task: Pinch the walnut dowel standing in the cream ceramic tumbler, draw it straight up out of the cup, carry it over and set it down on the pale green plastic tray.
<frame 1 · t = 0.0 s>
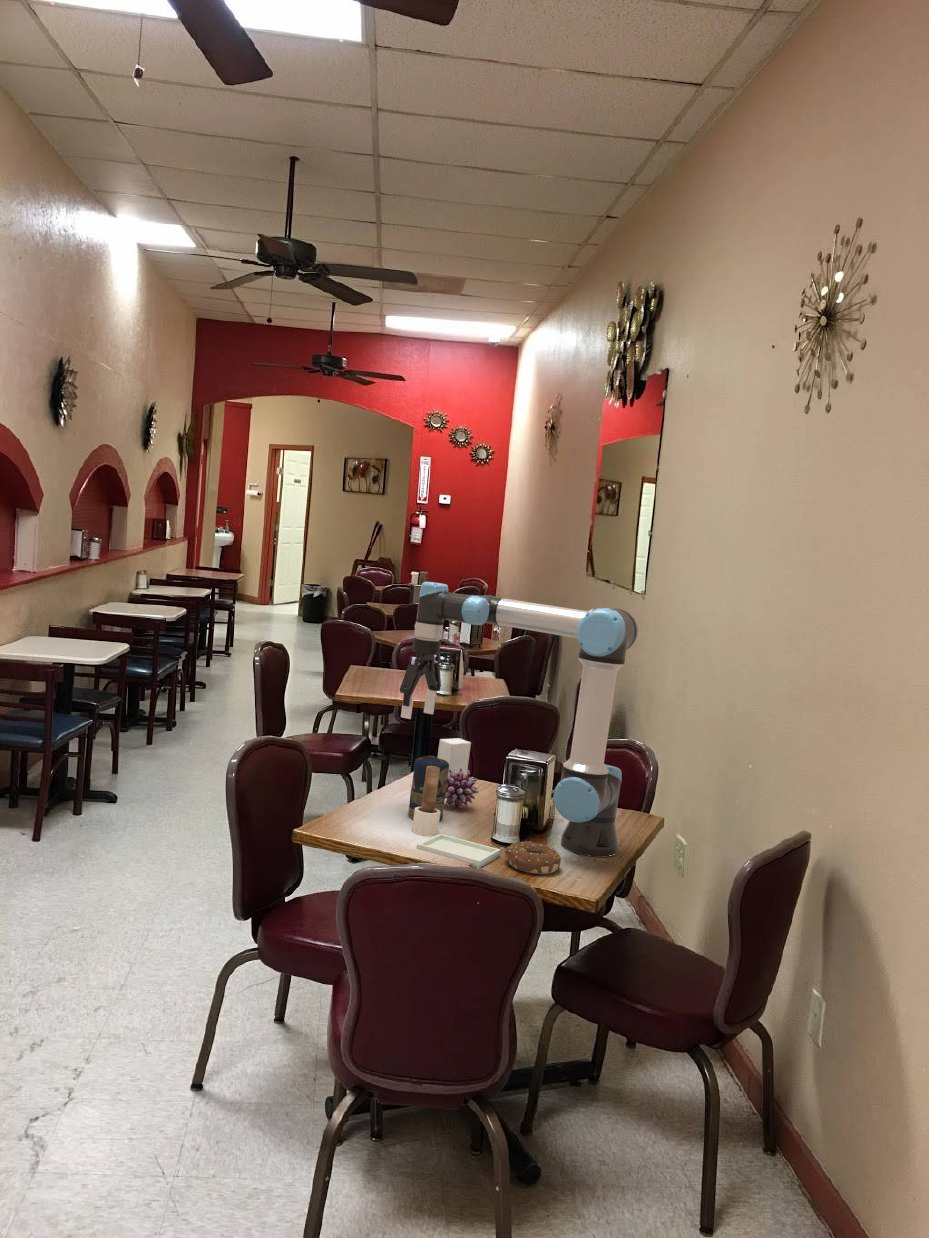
hand: (417, 715, 277), 28 cm above the table, fingers open, 13 cm apart
skincare box: (449, 789, 317), on the table
donut: (530, 868, 248), on the table
canister: (424, 821, 277), on the table
tumbler: (424, 834, 263), on the table
flower: (455, 808, 295), on the table
tray: (458, 853, 250), on the table
dowel: (424, 831, 263), point 1 cm above the table, touching tumbler
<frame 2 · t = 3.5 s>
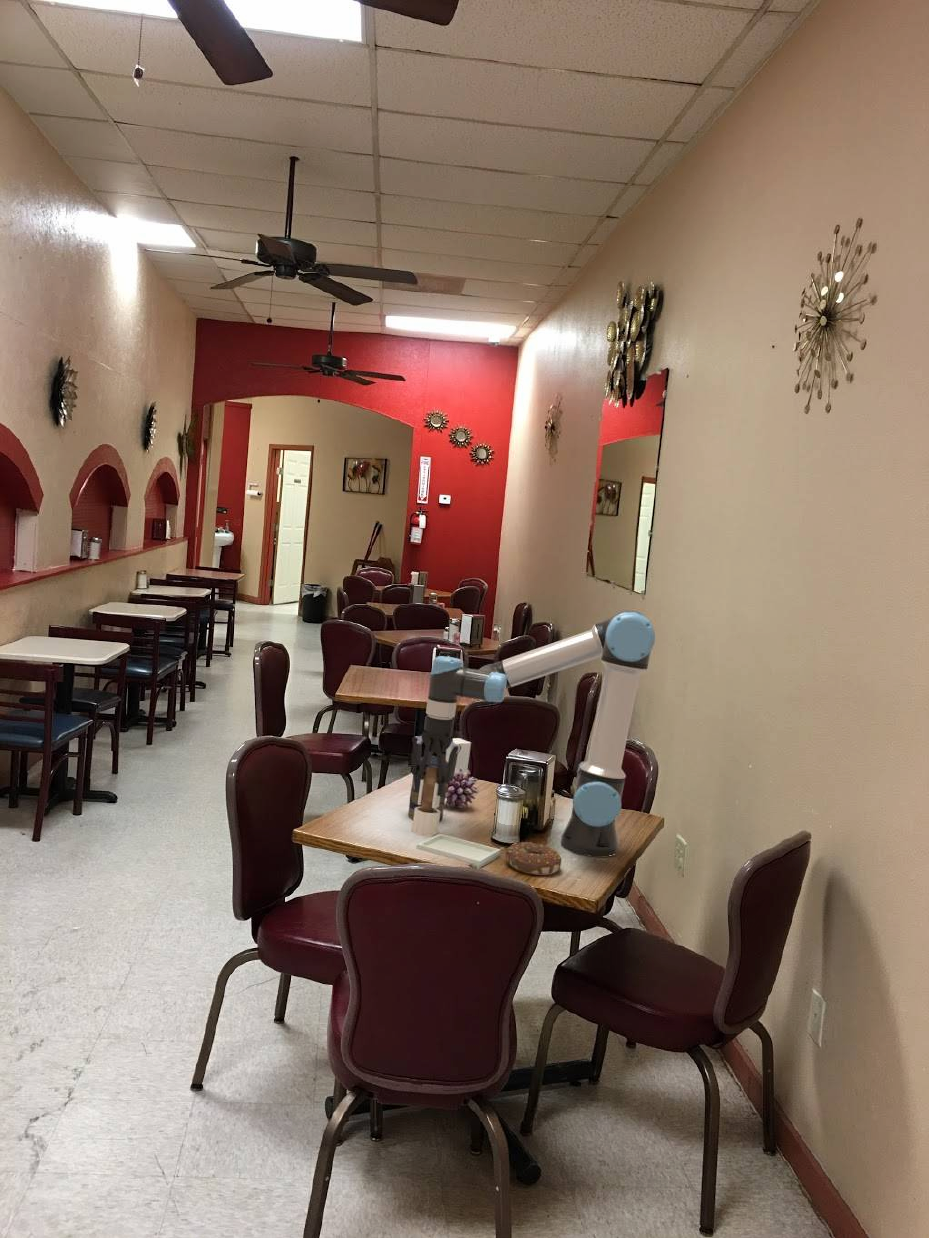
hand: (428, 805, 263), 8 cm above the table, fingers closed on dowel, 3 cm apart
dowel: (424, 831, 263), point 1 cm above the table, touching gripper, tumbler
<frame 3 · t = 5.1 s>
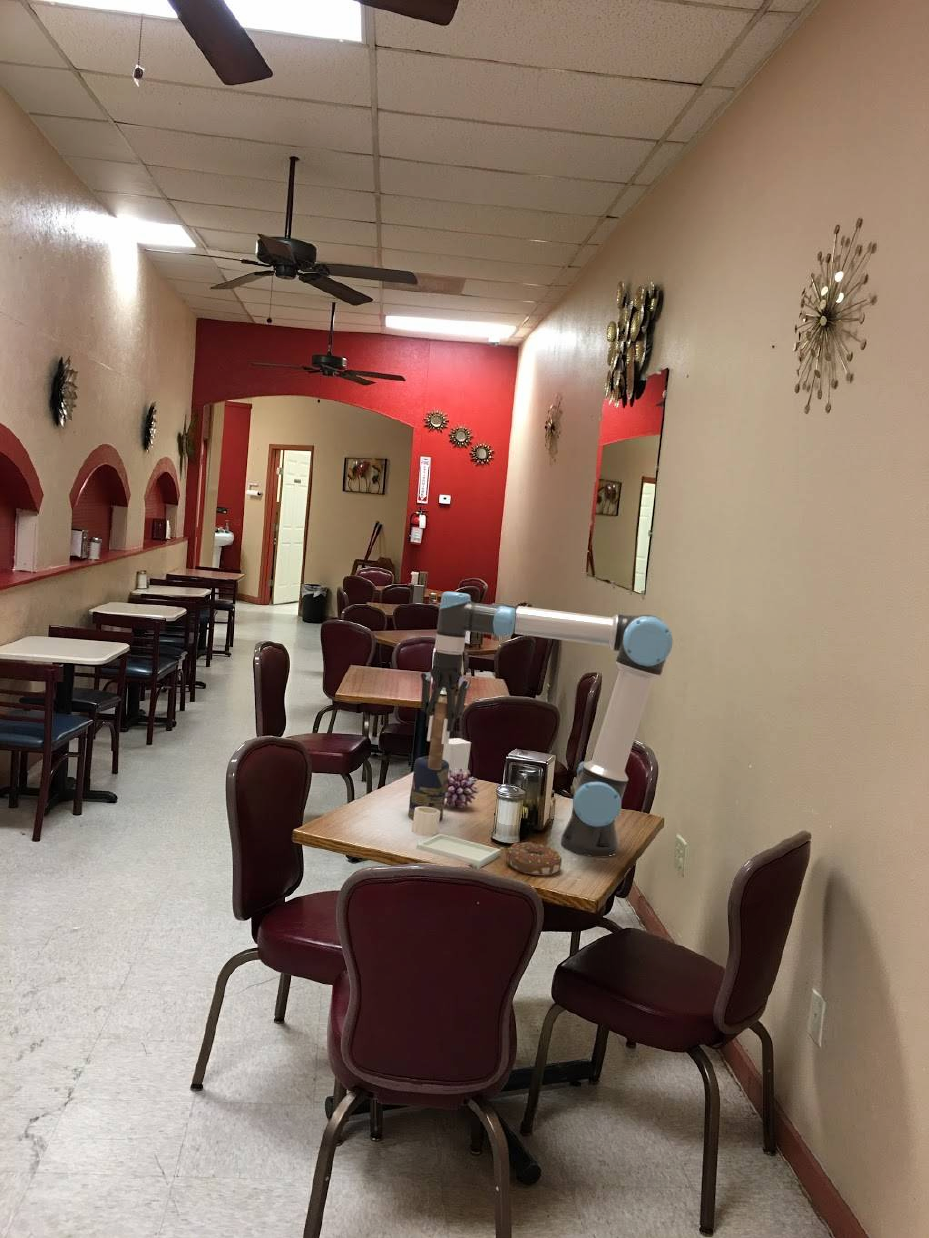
hand: (437, 741, 262), 25 cm above the table, fingers closed on dowel, 3 cm apart
dowel: (434, 768, 262), point 18 cm above the table, touching gripper
everything else where it was.
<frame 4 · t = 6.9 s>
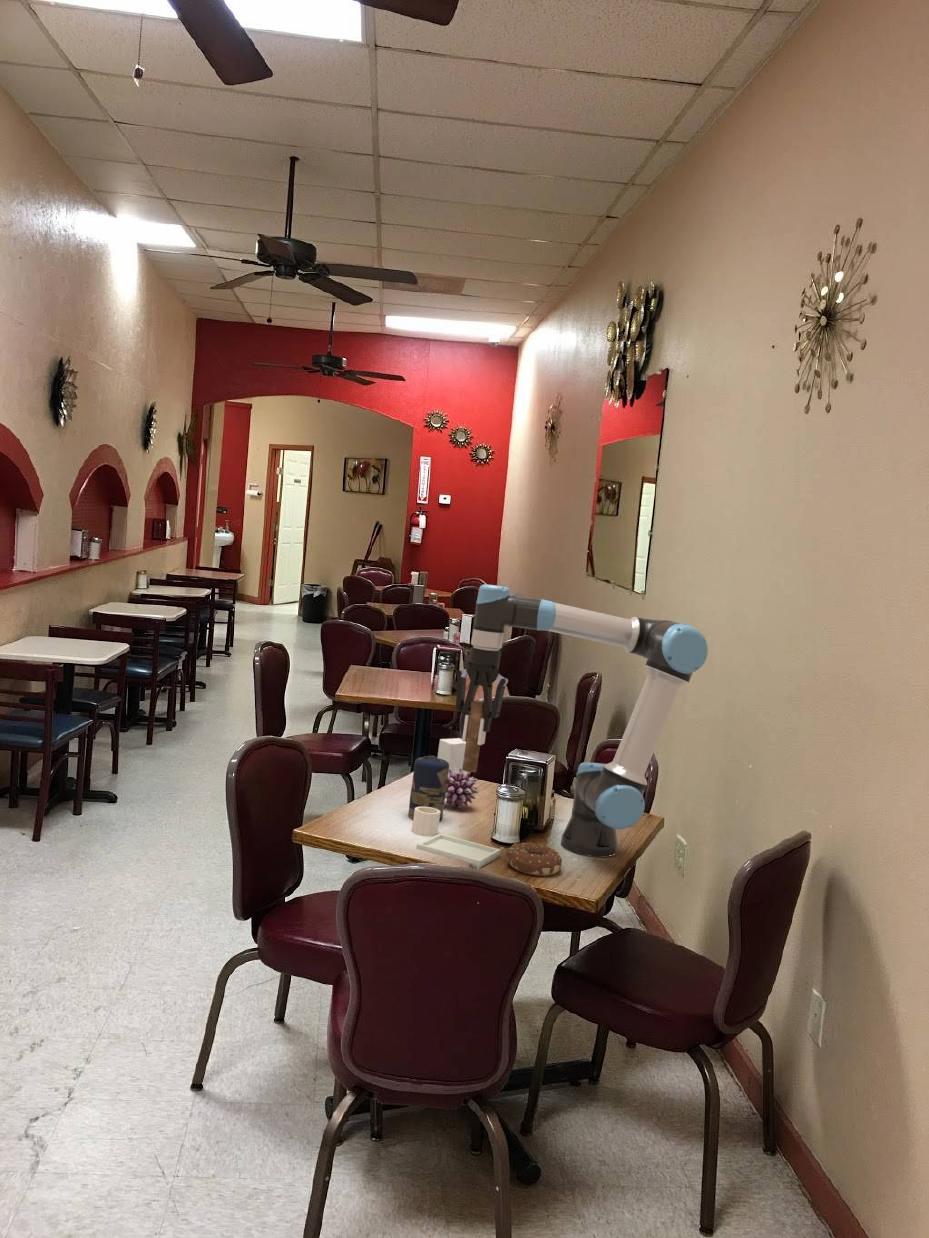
hand: (473, 742, 249), 28 cm above the table, fingers closed on dowel, 3 cm apart
dowel: (469, 770, 249), point 21 cm above the table, touching gripper
everything else where it was.
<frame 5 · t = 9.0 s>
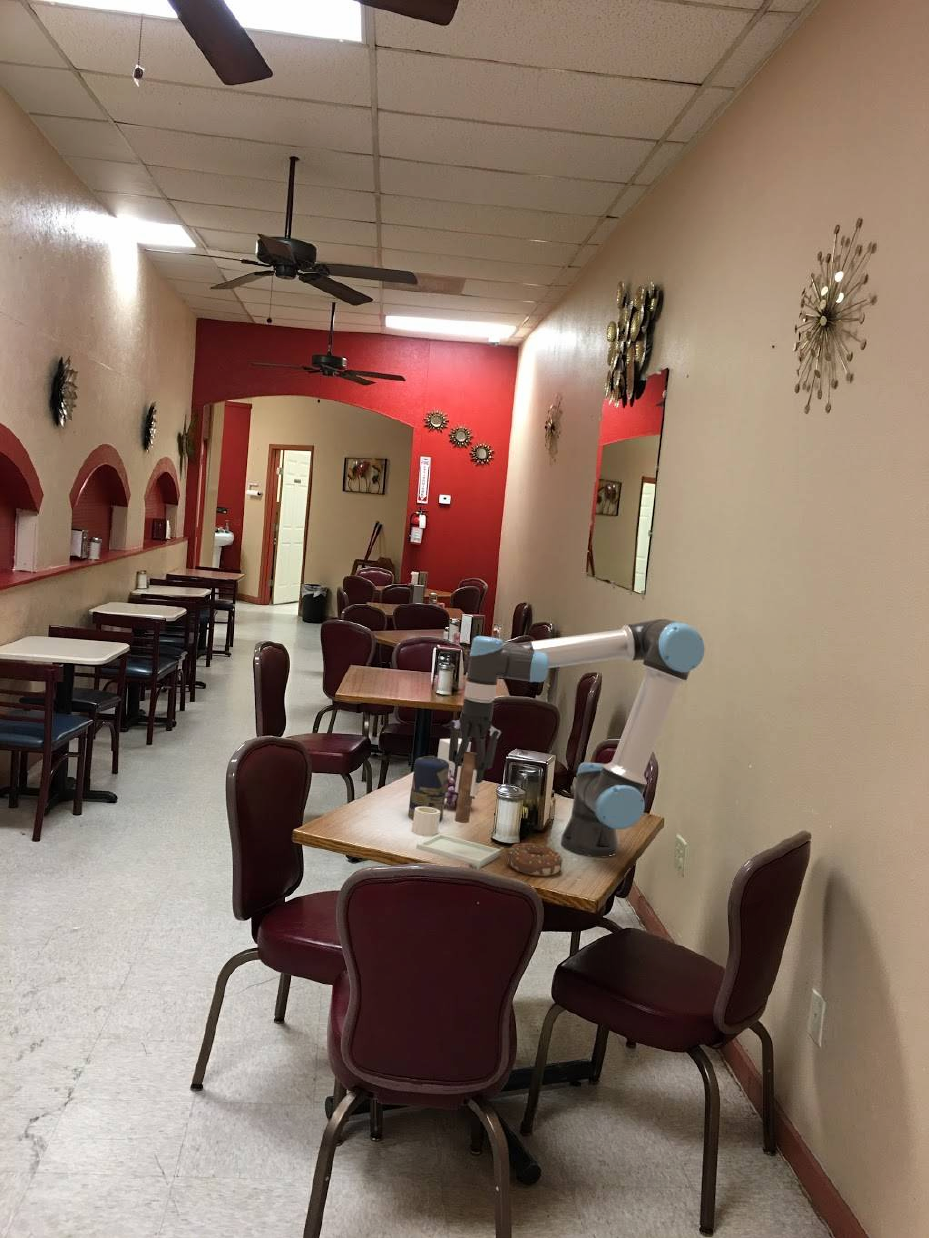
hand: (465, 793, 249), 15 cm above the table, fingers closed on dowel, 3 cm apart
dowel: (461, 821, 250), point 8 cm above the table, touching gripper
when the fingers open (8 cm above the table, at t = 10.7 s): dowel stays where it is, resting on tray.
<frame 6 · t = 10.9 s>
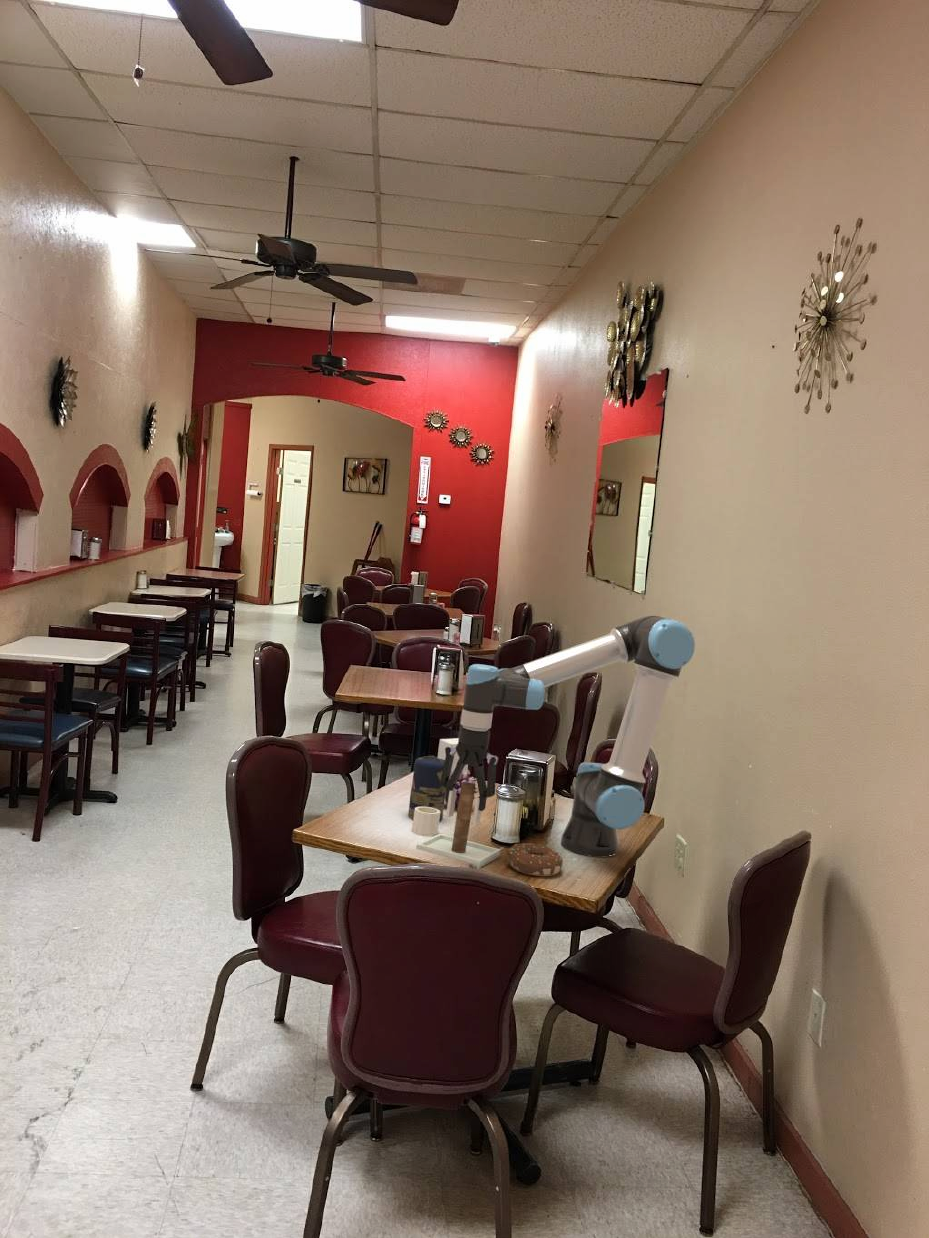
hand: (462, 819, 250), 9 cm above the table, fingers open, 7 cm apart
dowel: (458, 850, 250), point 1 cm above the table, touching tray
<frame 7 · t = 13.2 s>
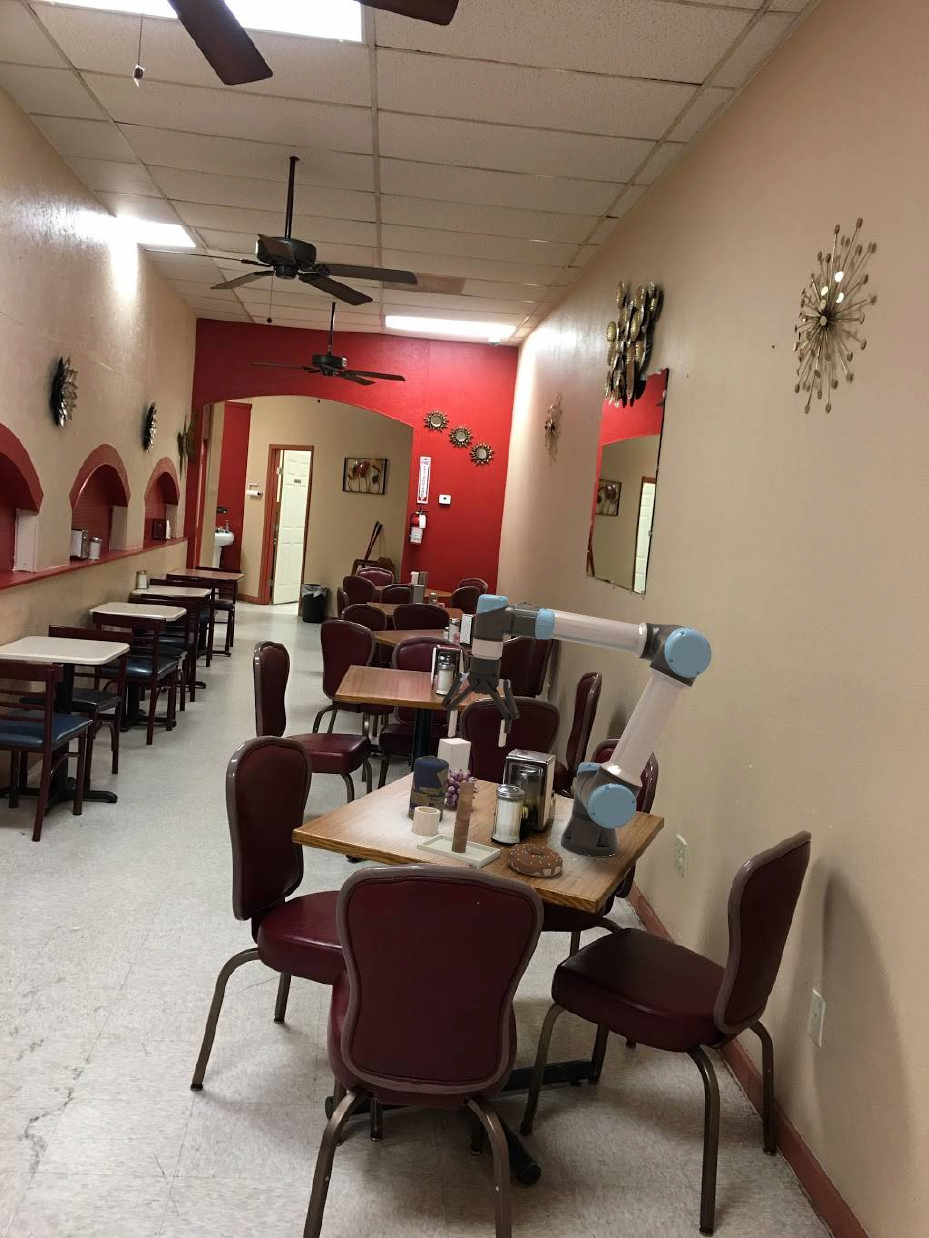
hand: (476, 741, 253), 28 cm above the table, fingers open, 13 cm apart
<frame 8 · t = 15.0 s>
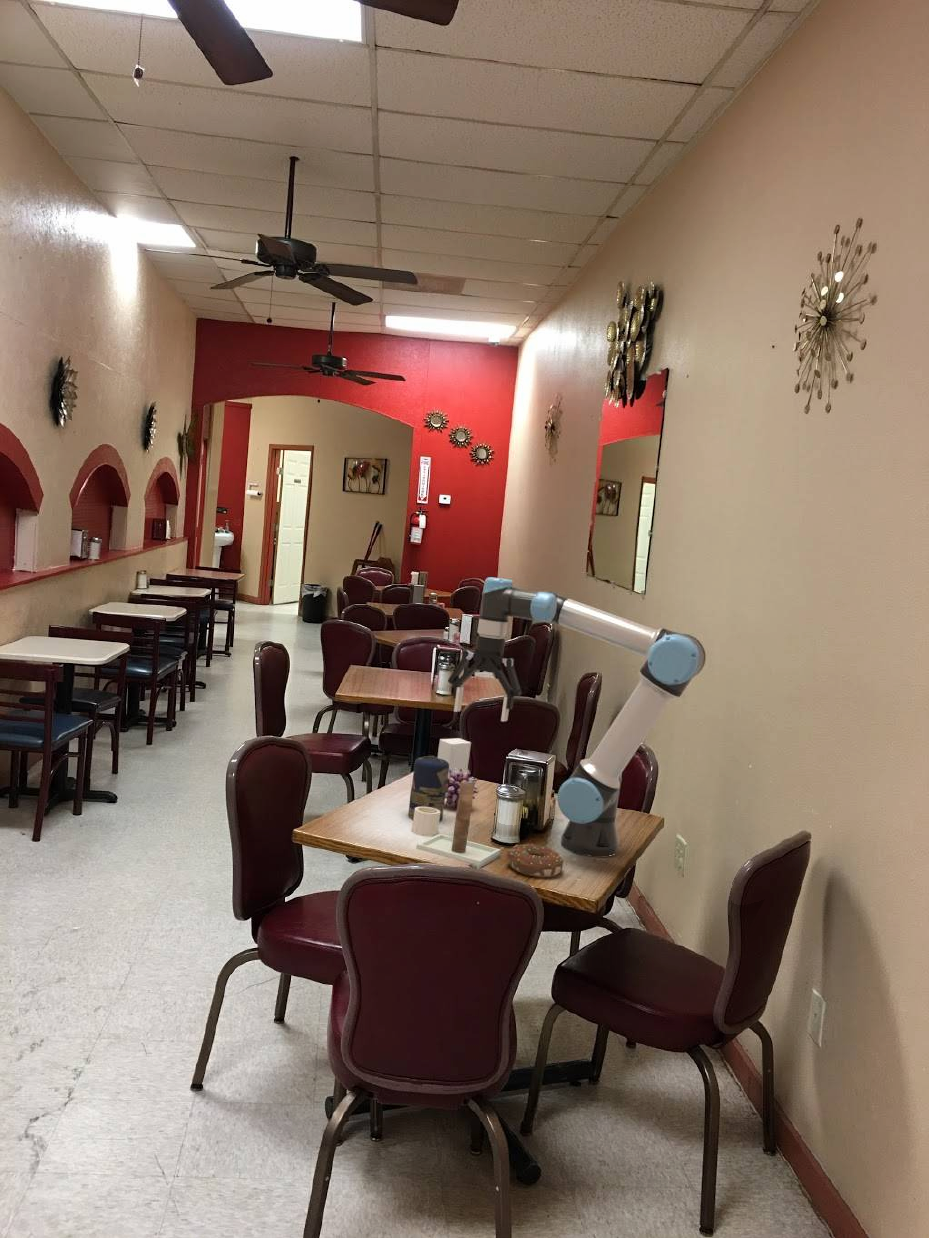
hand: (480, 716, 267), 32 cm above the table, fingers open, 13 cm apart
at the end: dowel inside the target area on the tray (0.0 cm from its centre), point 0.8 cm above the tray's base; the gripper is holding nothing; dowel moved 15.7 cm from its start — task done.
